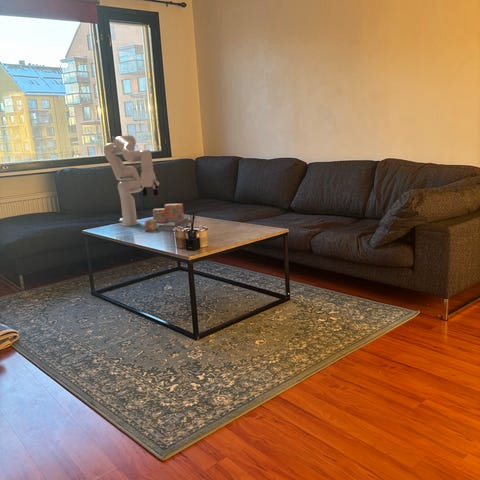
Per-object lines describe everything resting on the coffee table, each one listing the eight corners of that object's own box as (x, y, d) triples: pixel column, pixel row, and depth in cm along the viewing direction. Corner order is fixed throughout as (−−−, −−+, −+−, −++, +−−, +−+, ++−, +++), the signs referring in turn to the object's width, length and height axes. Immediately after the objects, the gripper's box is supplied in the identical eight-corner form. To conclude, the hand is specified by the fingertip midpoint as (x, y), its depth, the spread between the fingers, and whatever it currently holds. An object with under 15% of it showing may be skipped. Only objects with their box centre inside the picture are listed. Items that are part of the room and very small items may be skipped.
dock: (158, 230, 324) (157, 222, 323) (171, 225, 338) (170, 217, 337) (176, 230, 318) (176, 222, 317) (188, 225, 333) (188, 217, 331)
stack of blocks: (153, 222, 353) (151, 205, 350) (155, 221, 359) (154, 204, 356) (182, 221, 350) (180, 204, 348) (184, 219, 357) (182, 203, 354)
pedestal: (145, 231, 322) (144, 221, 321) (150, 229, 328) (149, 219, 326) (153, 232, 320) (151, 221, 318) (158, 230, 325) (157, 219, 324)
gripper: (133, 170, 321) (137, 196, 324) (153, 169, 311) (156, 196, 314) (142, 169, 327) (145, 194, 330) (161, 168, 317) (164, 194, 320)
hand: (150, 195), depth 322 cm, fingers open, 9 cm apart
